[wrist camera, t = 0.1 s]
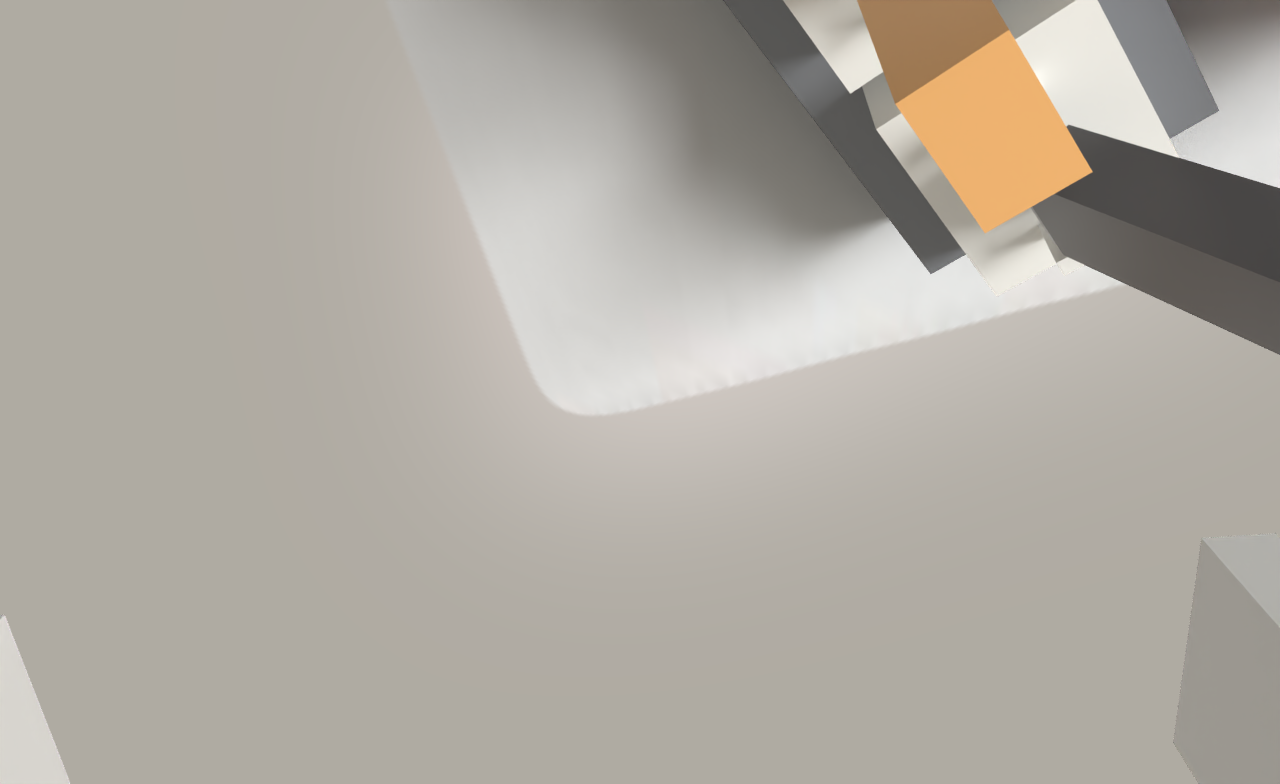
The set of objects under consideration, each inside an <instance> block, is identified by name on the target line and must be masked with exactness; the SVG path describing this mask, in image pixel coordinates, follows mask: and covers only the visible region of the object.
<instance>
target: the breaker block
mask: <svg viewBox="0 0 1280 784" xmlns="http://www.w3.org/2000/svg"><path fill="white" fill-rule="evenodd" d="M723 1H724V2H725V3H726V5H727V6H728V7H729V9H730V10H731V11H732V13H733V14H734V15H735V16H736V18H737V19H738V20H739V22H740V23H741V24H742V26H743V27H744V28H745V30H746V31H747V32H748V34H749V35H750V36H751V38H752V39H753V40H754V42H755V43H756V44H757V46H758V47H759V48H760V49H761V51H762V52H763V53H764V55H765V56H766V57H767V59H768V60H769V61H770V63H771V64H772V65H773V67H774V68H775V69H776V71H777V72H778V73H779V75H780V76H781V77H782V78H783V80H784V81H785V82H786V84H787V85H788V86H789V88H790V89H791V90H792V92H793V93H794V94H795V96H796V97H797V98H798V100H799V101H800V102H801V104H802V105H803V106H804V108H805V109H806V110H807V111H808V113H809V114H810V115H811V117H812V118H813V119H814V121H815V122H816V123H817V125H818V126H819V127H820V129H821V130H822V131H823V133H824V134H825V135H826V137H827V138H828V139H829V140H830V142H831V143H832V144H833V146H834V147H835V148H836V150H837V151H838V152H839V154H840V155H841V156H842V158H843V159H844V160H845V162H846V163H847V164H848V166H849V167H850V168H851V170H852V171H853V172H854V173H855V175H856V176H857V177H858V179H859V180H860V181H861V183H862V184H863V185H864V187H865V188H866V189H867V191H868V192H869V193H870V195H871V196H872V197H873V199H874V200H875V201H876V202H877V204H878V205H879V206H880V208H881V209H882V210H883V212H884V213H885V214H886V216H887V217H888V218H889V220H890V221H891V222H892V224H893V225H894V226H895V228H896V229H897V230H898V232H899V233H900V234H901V235H902V237H903V238H904V239H905V241H906V242H907V243H908V245H909V246H910V247H911V249H912V250H913V251H914V253H915V254H916V255H917V257H918V258H919V259H920V261H921V262H922V263H923V264H924V266H925V267H926V268H927V270H928V271H929V272H930V274H932V273H934V272H936V271H937V270H939V269H941V268H943V267H944V266H946V265H948V264H950V263H951V262H953V261H955V260H957V259H959V258H960V257H962V256H964V255H967V256H968V258H969V259H970V261H971V262H972V263H973V265H974V266H975V268H976V269H977V270H978V272H979V273H980V275H981V276H982V277H983V279H984V280H985V281H986V283H987V284H988V286H989V287H990V288H991V290H992V291H993V293H994V294H995V295H996V297H997V296H999V295H1001V294H1003V293H1005V292H1007V291H1009V290H1010V289H1012V288H1014V287H1016V286H1018V285H1020V284H1021V283H1023V282H1025V281H1027V280H1029V279H1031V278H1033V277H1034V276H1036V275H1038V274H1040V273H1042V272H1044V271H1045V270H1047V269H1049V268H1051V267H1053V266H1055V265H1058V267H1059V268H1060V270H1061V271H1062V273H1063V274H1064V276H1066V275H1068V274H1070V273H1072V272H1074V271H1076V270H1078V269H1079V268H1081V267H1083V266H1085V265H1086V266H1088V267H1090V268H1092V269H1095V270H1097V271H1099V272H1101V273H1103V274H1105V275H1108V276H1110V277H1112V278H1114V279H1116V280H1118V281H1121V282H1123V283H1125V284H1127V285H1129V286H1131V287H1134V288H1136V289H1138V290H1140V291H1142V292H1145V293H1147V294H1149V295H1151V296H1153V297H1155V298H1158V299H1160V300H1162V301H1164V302H1166V303H1169V304H1171V305H1173V306H1175V307H1177V308H1179V309H1182V310H1184V311H1186V312H1188V313H1190V314H1192V315H1195V316H1197V317H1199V318H1201V319H1203V320H1205V321H1208V322H1210V323H1212V324H1215V325H1216V326H1219V327H1221V328H1223V329H1225V330H1227V331H1229V332H1232V333H1234V334H1236V335H1238V336H1240V337H1242V338H1244V339H1247V340H1249V341H1251V342H1253V343H1255V344H1258V345H1260V346H1262V347H1264V348H1266V349H1268V350H1271V351H1273V352H1275V353H1277V354H1279V355H1280V188H1277V187H1273V186H1270V185H1267V184H1263V183H1260V182H1257V181H1253V180H1250V179H1247V178H1244V177H1240V176H1237V175H1234V174H1230V173H1227V172H1224V171H1220V170H1217V169H1214V168H1210V167H1207V166H1204V165H1201V164H1197V163H1194V162H1191V161H1187V160H1184V159H1181V158H1179V156H1178V154H1177V152H1176V150H1175V148H1174V146H1173V144H1172V142H1171V140H1170V138H1172V137H1174V136H1175V135H1177V134H1179V133H1181V132H1182V131H1184V130H1186V129H1188V128H1189V127H1191V126H1193V125H1195V124H1196V123H1198V122H1200V121H1202V120H1203V119H1205V118H1207V117H1209V116H1211V115H1212V114H1214V113H1216V112H1218V111H1219V109H1218V107H1217V105H1216V103H1215V101H1214V99H1213V97H1212V95H1211V93H1210V91H1209V88H1208V86H1207V84H1206V82H1205V80H1204V78H1203V76H1202V74H1201V72H1200V70H1199V67H1198V65H1197V63H1196V61H1195V59H1194V57H1193V55H1192V53H1191V51H1190V49H1189V46H1188V44H1187V42H1186V40H1185V38H1184V36H1183V34H1182V32H1181V30H1180V28H1179V25H1178V23H1177V21H1176V19H1175V17H1174V15H1173V13H1172V11H1171V9H1170V7H1169V5H1168V2H1167V0H992V2H993V4H994V5H995V7H996V9H997V10H998V12H999V14H1000V15H1001V17H1002V19H1003V20H1004V22H1005V24H1006V25H1007V27H1008V29H1009V30H1010V32H1011V34H1012V35H1013V37H1014V39H1015V40H1016V42H1017V44H1018V46H1019V47H1020V49H1021V51H1022V52H1023V54H1024V56H1025V57H1026V59H1027V61H1028V63H1029V64H1030V66H1031V68H1032V69H1033V71H1034V73H1035V75H1036V76H1037V78H1038V80H1039V81H1040V83H1041V85H1042V86H1043V88H1044V90H1045V92H1046V93H1047V95H1048V97H1049V98H1050V100H1051V102H1052V103H1053V105H1054V107H1055V109H1056V110H1057V112H1058V114H1059V115H1060V117H1061V119H1062V120H1063V122H1064V124H1065V126H1066V127H1067V129H1068V131H1069V132H1070V134H1071V136H1072V137H1073V139H1074V141H1075V143H1076V144H1077V146H1078V148H1079V149H1080V151H1081V153H1082V155H1083V156H1084V158H1085V160H1086V161H1087V163H1088V165H1089V166H1090V168H1091V170H1092V173H1090V174H1088V175H1086V176H1085V177H1083V178H1081V179H1079V180H1078V181H1076V182H1074V183H1072V184H1071V185H1069V186H1067V187H1065V188H1064V189H1062V190H1060V191H1058V192H1057V193H1055V194H1053V195H1051V196H1050V197H1048V198H1046V199H1044V200H1043V201H1041V202H1039V203H1037V204H1036V205H1034V206H1032V207H1030V208H1029V209H1027V210H1025V211H1023V212H1022V213H1020V214H1018V215H1016V216H1015V217H1013V218H1011V219H1009V220H1008V221H1006V222H1004V223H1002V224H1001V225H999V226H997V227H995V228H994V229H992V230H990V231H988V232H987V233H984V231H983V230H982V228H981V227H980V225H979V224H978V223H977V221H976V220H975V218H974V217H973V215H972V214H971V212H970V211H969V210H968V208H967V207H966V205H965V204H964V202H963V201H962V200H961V198H960V197H959V195H958V194H957V192H956V191H955V189H954V188H953V187H952V185H951V184H950V182H949V181H948V179H947V178H946V176H945V175H944V174H943V172H942V171H941V169H940V168H939V166H938V165H937V164H936V162H935V161H934V159H933V158H932V156H931V155H930V153H929V152H928V151H927V149H926V148H925V146H924V145H923V143H922V142H921V141H920V139H919V138H918V136H917V135H916V133H915V132H914V130H913V129H912V128H911V126H910V125H909V123H908V122H907V120H906V119H905V117H904V116H903V115H902V113H901V112H900V110H899V109H898V107H897V106H896V105H895V102H894V99H893V97H892V94H891V91H890V89H889V86H888V83H887V80H886V78H885V75H884V72H883V70H882V67H881V64H880V61H879V59H878V56H877V53H876V51H875V48H874V45H873V42H872V40H871V37H870V34H869V32H868V29H867V26H866V23H865V21H864V18H863V15H862V13H861V10H860V7H859V5H858V2H857V0H723Z"/></svg>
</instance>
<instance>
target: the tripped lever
mask: <svg viewBox="0 0 1280 784" xmlns="http://www.w3.org/2000/svg"><path fill="white" fill-rule="evenodd" d="M857 2H858V5H859V7H860V10H861V13H862V15H863V18H864V21H865V23H866V26H867V29H868V32H869V34H870V37H871V40H872V42H873V45H874V48H875V51H876V53H877V56H878V59H879V61H880V64H881V67H882V70H883V72H884V75H885V78H886V80H887V83H888V86H889V89H890V91H891V94H892V97H893V99H894V102H895V105H896V106H897V107H898V109H899V110H900V112H901V113H902V115H903V116H904V117H905V119H906V120H907V122H908V123H909V125H910V126H911V128H912V129H913V130H914V132H915V133H916V135H917V136H918V138H919V139H920V141H921V142H922V143H923V145H924V146H925V148H926V149H927V151H928V152H929V153H930V155H931V156H932V158H933V159H934V161H935V162H936V164H937V165H938V166H939V168H940V169H941V171H942V172H943V174H944V175H945V176H946V178H947V179H948V181H949V182H950V184H951V185H952V187H953V188H954V189H955V191H956V192H957V194H958V195H959V197H960V198H961V200H962V201H963V202H964V204H965V205H966V207H967V208H968V210H969V211H970V212H971V214H972V215H973V217H974V218H975V220H976V221H977V223H978V224H979V225H980V227H981V228H982V230H983V231H984V233H987V232H988V231H990V230H992V229H994V228H995V227H997V226H999V225H1001V224H1002V223H1004V222H1006V221H1008V220H1009V219H1011V218H1013V217H1015V216H1016V215H1018V214H1020V213H1022V212H1023V211H1025V210H1027V209H1029V208H1030V207H1032V206H1034V205H1036V204H1037V203H1039V202H1041V201H1043V200H1044V199H1046V198H1048V197H1050V196H1051V195H1053V194H1055V193H1057V192H1058V191H1060V190H1062V189H1064V188H1065V187H1067V186H1069V185H1071V184H1072V183H1074V182H1076V181H1078V180H1079V179H1081V178H1083V177H1085V176H1086V175H1088V174H1090V173H1092V170H1091V168H1090V166H1089V165H1088V163H1087V161H1086V160H1085V158H1084V156H1083V155H1082V153H1081V151H1080V149H1079V148H1078V146H1077V144H1076V143H1075V141H1074V139H1073V137H1072V136H1071V134H1070V132H1069V131H1068V129H1067V127H1066V126H1065V124H1064V122H1063V120H1062V119H1061V117H1060V115H1059V114H1058V112H1057V110H1056V109H1055V107H1054V105H1053V103H1052V102H1051V100H1050V98H1049V97H1048V95H1047V93H1046V92H1045V90H1044V88H1043V86H1042V85H1041V83H1040V81H1039V80H1038V78H1037V76H1036V75H1035V73H1034V71H1033V69H1032V68H1031V66H1030V64H1029V63H1028V61H1027V59H1026V57H1025V56H1024V54H1023V52H1022V51H1021V49H1020V47H1019V46H1018V44H1017V42H1016V40H1015V39H1014V37H1013V35H1012V34H1011V32H1010V30H1009V29H1008V27H1007V25H1006V24H1005V22H1004V20H1003V19H1002V17H1001V15H1000V14H999V12H998V10H997V9H996V7H995V5H994V4H993V2H992V0H857Z"/></svg>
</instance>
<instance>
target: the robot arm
mask: <svg viewBox="0 0 1280 784" xmlns="http://www.w3.org/2000/svg"><path fill="white" fill-rule="evenodd" d="M1173 743H1174V745H1175V747H1176V748H1177V750H1178V751H1179V753H1180V754H1181V756H1182V758H1183V759H1184V761H1185V763H1186V764H1187V766H1188V767H1189V769H1190V771H1191V772H1192V774H1193V776H1194V777H1195V779H1196V780H1197V782H1198V784H1280V537H1279V536H1278V535H1277V534H1276V533H1275V534H1258V535H1244V536H1227V537H1213V538H1201V545H1200V552H1199V560H1198V566H1197V574H1196V581H1195V589H1194V596H1193V603H1192V610H1191V617H1190V625H1189V633H1188V640H1187V646H1186V654H1185V661H1184V668H1183V675H1182V683H1181V690H1180V698H1179V705H1178V712H1177V720H1176V727H1175V733H1174V741H1173ZM0 784H70V781H69V779H68V776H67V773H66V771H65V768H64V766H63V763H62V761H61V758H60V755H59V753H58V750H57V748H56V745H55V743H54V740H53V737H52V735H51V732H50V730H49V727H48V725H47V722H46V720H45V717H44V714H43V712H42V710H41V707H40V704H39V702H38V699H37V697H36V694H35V691H34V689H33V686H32V684H31V681H30V679H29V676H28V673H27V671H26V668H25V666H24V663H23V661H22V658H21V656H20V653H19V650H18V648H17V645H16V643H15V640H14V638H13V635H12V633H11V630H10V627H9V625H8V622H7V620H6V617H5V615H0Z"/></svg>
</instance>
